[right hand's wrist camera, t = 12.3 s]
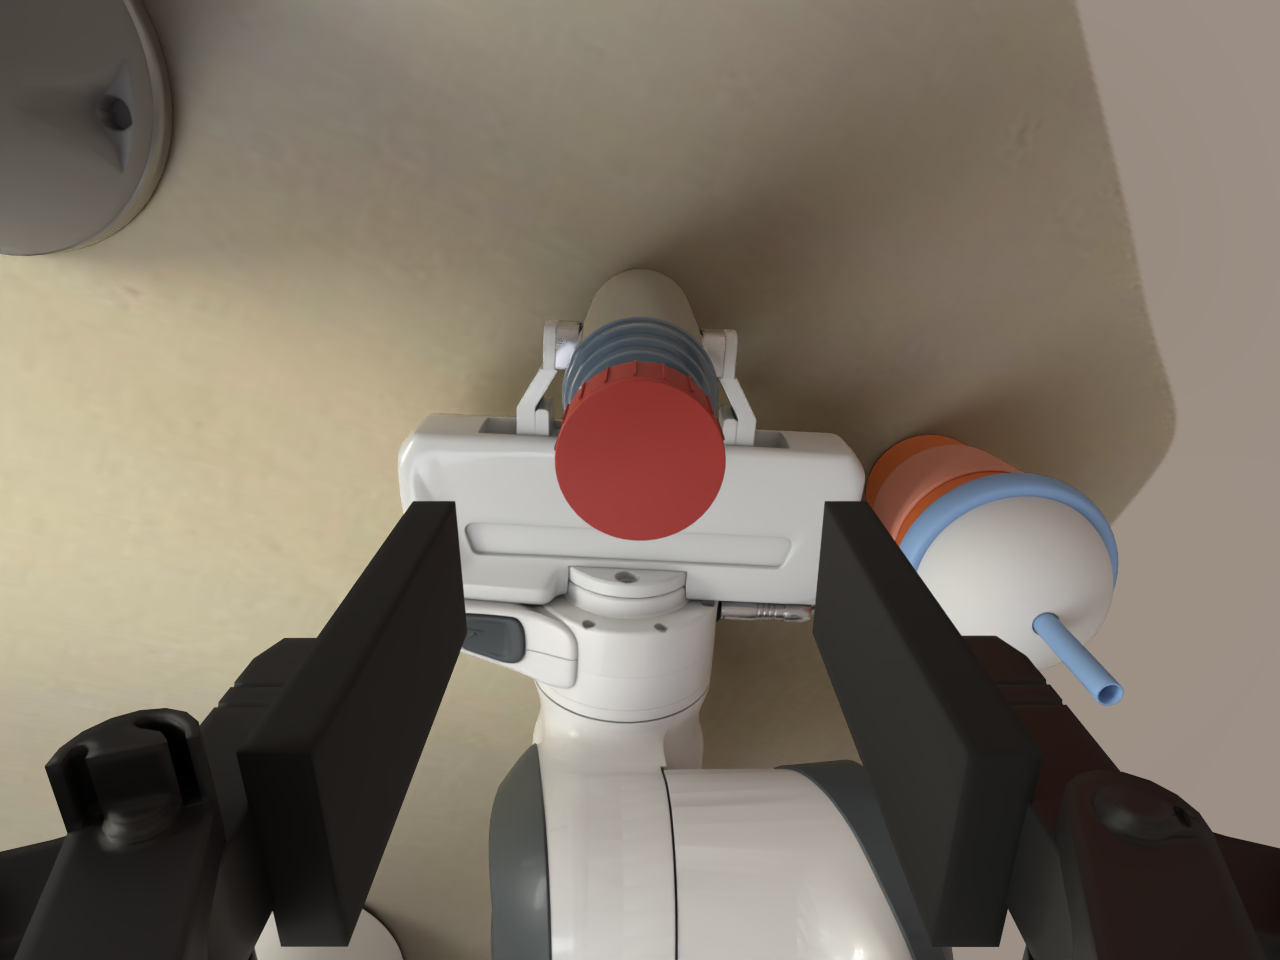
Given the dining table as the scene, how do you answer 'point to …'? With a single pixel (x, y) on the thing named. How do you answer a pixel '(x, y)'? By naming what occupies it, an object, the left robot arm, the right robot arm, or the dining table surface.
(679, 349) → the bottle
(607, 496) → the cap
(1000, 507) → the cup with straw
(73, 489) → the dining table surface
